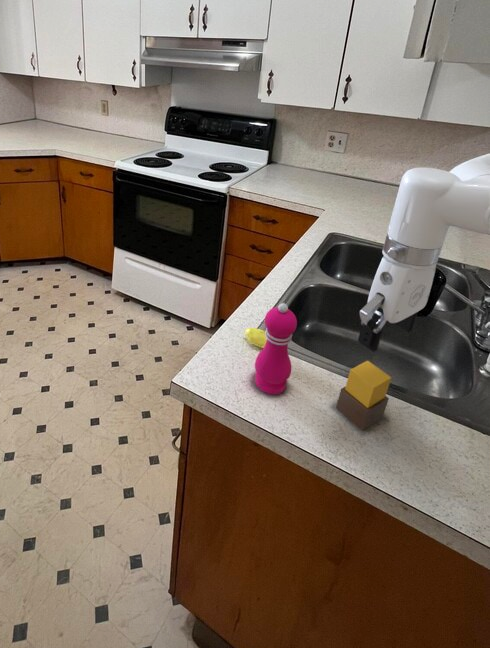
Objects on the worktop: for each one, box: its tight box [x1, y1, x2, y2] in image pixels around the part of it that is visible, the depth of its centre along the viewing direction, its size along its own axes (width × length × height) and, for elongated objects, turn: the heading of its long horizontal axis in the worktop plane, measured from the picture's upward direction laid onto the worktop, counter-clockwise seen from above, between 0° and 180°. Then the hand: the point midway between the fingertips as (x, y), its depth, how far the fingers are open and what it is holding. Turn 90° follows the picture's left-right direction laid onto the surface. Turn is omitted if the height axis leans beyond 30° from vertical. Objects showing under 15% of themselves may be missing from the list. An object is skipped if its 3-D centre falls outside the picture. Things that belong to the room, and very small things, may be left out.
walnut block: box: [335, 385, 390, 431], centre depth 81 cm, size 6×6×5 cm
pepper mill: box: [254, 302, 298, 395], centre depth 84 cm, size 7×7×20 cm
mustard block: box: [344, 360, 392, 408], centre depth 79 cm, size 5×5×5 cm
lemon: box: [244, 327, 267, 349], centre depth 98 cm, size 4×8×4 cm, turn 46°
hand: (384, 336), depth 73 cm, fingers open, 9 cm apart
